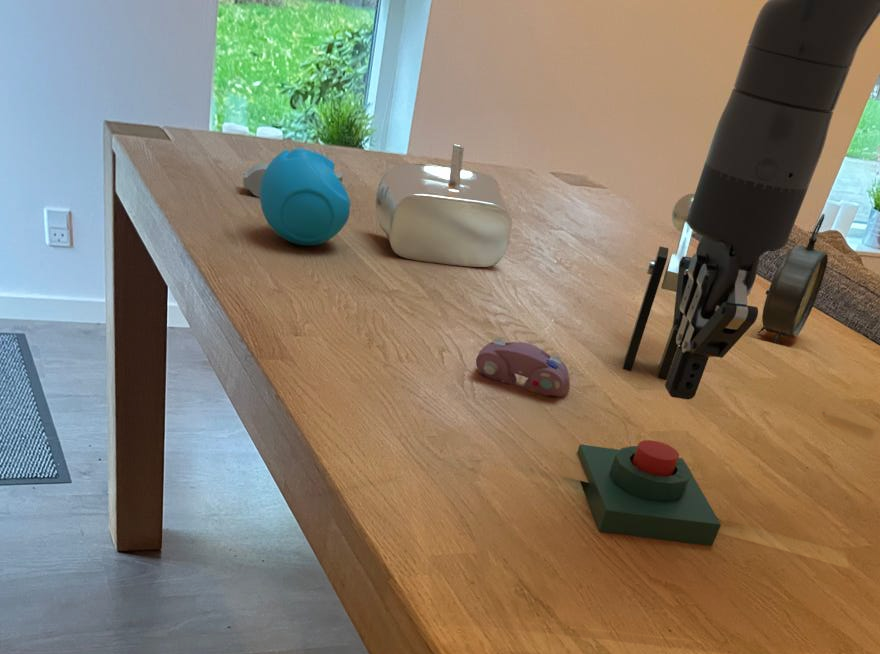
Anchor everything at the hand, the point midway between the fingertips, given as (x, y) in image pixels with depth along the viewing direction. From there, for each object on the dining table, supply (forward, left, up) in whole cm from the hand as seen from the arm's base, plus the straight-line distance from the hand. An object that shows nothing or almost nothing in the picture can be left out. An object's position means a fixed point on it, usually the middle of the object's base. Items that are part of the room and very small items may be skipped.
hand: (678, 394), depth 81 cm
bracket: (-5, -31, -10) cm, 33 cm away
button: (0, 0, -7) cm, 7 cm away
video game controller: (+10, -20, -11) cm, 25 cm away
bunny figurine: (+42, -81, -11) cm, 92 cm away
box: (0, 0, -10) cm, 10 cm away
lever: (-6, -37, +2) cm, 37 cm away
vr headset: (+19, -67, -11) cm, 70 cm away
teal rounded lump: (+38, -59, -11) cm, 71 cm away
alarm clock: (-27, -55, -11) cm, 62 cm away
